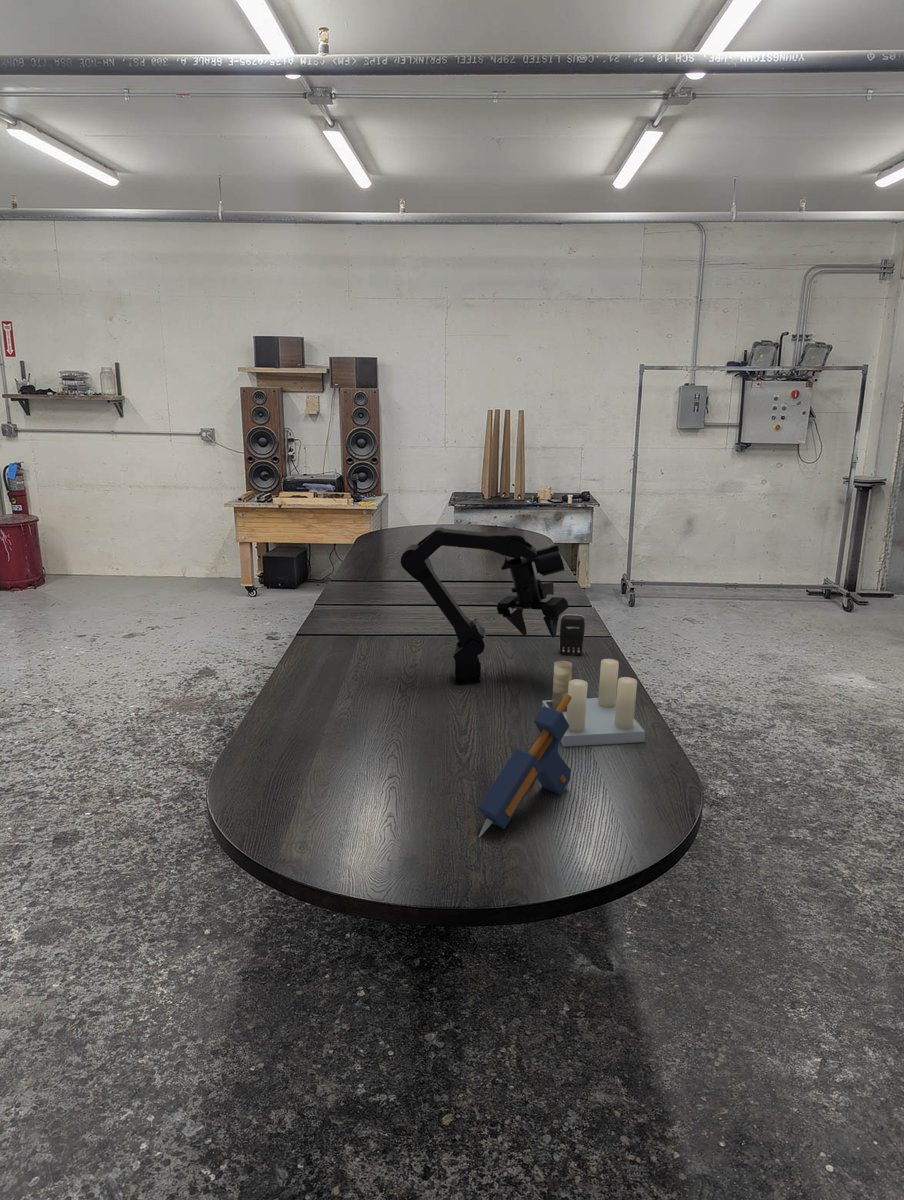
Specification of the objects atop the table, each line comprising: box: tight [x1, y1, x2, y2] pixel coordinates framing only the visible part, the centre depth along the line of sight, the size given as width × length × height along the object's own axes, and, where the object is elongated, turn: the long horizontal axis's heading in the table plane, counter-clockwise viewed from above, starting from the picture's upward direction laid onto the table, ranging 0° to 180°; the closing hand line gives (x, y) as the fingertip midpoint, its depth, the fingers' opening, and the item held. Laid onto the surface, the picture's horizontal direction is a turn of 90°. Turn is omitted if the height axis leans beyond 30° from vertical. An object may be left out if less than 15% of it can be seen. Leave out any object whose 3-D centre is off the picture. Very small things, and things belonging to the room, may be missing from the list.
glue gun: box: [477, 694, 572, 838], centre depth 135 cm, size 6×31×15 cm
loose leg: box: [551, 660, 573, 712], centre depth 169 cm, size 4×4×13 cm
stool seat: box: [541, 658, 646, 748], centre depth 165 cm, size 18×18×13 cm
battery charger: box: [558, 613, 586, 656], centre depth 208 cm, size 7×4×11 cm, turn 83°
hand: (539, 635), depth 188 cm, fingers open, 9 cm apart
